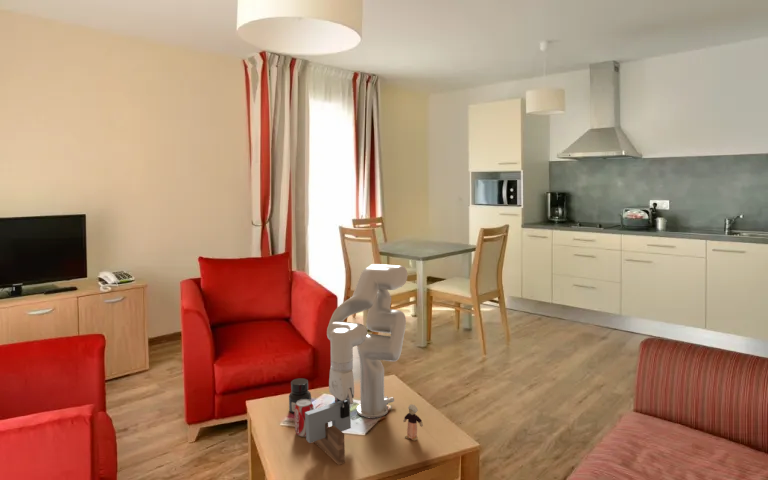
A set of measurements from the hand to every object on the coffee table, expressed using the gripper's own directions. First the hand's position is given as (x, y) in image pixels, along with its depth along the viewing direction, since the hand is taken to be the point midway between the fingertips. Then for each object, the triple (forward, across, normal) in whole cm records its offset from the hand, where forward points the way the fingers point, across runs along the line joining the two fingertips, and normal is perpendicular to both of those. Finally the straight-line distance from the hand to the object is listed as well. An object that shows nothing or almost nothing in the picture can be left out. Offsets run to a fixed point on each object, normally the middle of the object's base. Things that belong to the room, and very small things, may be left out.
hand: (342, 415), depth 179 cm
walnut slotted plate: (+12, 0, -6) cm, 13 cm away
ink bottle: (+12, -34, 0) cm, 36 cm away
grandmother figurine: (+12, +10, +23) cm, 28 cm away
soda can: (+12, -16, -7) cm, 21 cm away
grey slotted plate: (+5, 0, -6) cm, 8 cm away
